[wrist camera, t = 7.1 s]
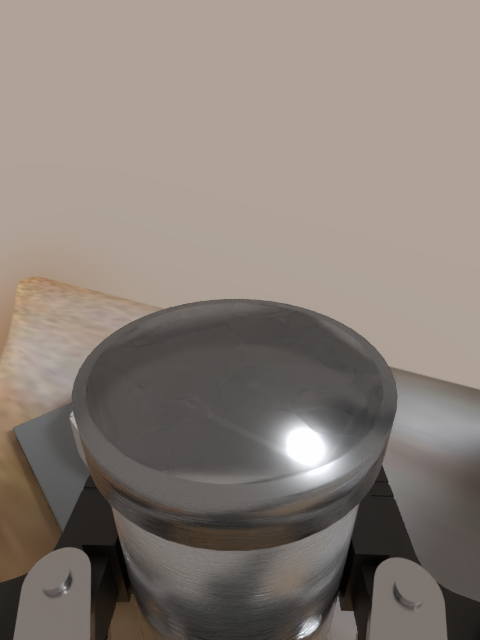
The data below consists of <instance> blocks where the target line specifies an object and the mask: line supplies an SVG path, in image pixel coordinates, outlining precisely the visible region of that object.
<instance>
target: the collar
mask: <svg viewBox="0 0 480 640" xmlns="http://www.w3.org/2000/svg"><path fill="white" fill-rule="evenodd" d="M13 430H14V432H15V435H16V438H17V440H18V442H19V444H20V446H21V449H22V451H23V453H24V455H25V457H26V459H27V461H28V463H29V465H30V467H31V469H32V471H33V473H34V475H35V477H36V480H37V482H38V484H39V486H40V488H41V490H42V492H43V494H44V496H45V498H46V500H47V502H48V504H49V506H50V509H51V511H52V513H53V515H54V517H55V519H56V521H57V523H58V525H59V527H60V529H61V531H62V533H63V531H64V528H65V526H66V524H67V522H68V520H69V518H70V515H71V513H72V511H73V509H74V507H75V504H76V502H77V500H78V498H79V496H80V493H81V491H82V490H83V489H84V485H85V483H86V480H87V478H88V476H90V473H89V469H88V465H87V462H86V458H85V454H84V451H83V447H82V443H81V440H80V436H79V432H78V429H77V425H76V421H75V417H74V414H73V410H72V403H70V404H68V405H66V406H63V407H61V408H59V409H56V410H54V411H52V412H49V413H47V414H44V415H42V416H40V417H37V418H35V419H33V420H30V421H28V422H26V423H23V424H21V425H19V426H16V427H14V428H13Z"/></svg>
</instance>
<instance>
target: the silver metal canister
mask: <svg viewBox="0 0 480 640" xmlns="http://www.w3.org/2000/svg"><path fill="white" fill-rule="evenodd" d="M396 409H397V390H396V384H395V380H394V377H393V375H392V372H391V370H390V368H389V366H388V365H387V363H386V361H385V360H384V358H383V357H382V356H381V354H380V353H379V352H378V351H377V350H376V348H375V347H374V346H372V345H371V344H370V343H369V342H368V341H367V340H366V339H365V338H364V337H362V336H361V335H359V334H358V333H357V332H355V331H354V330H352V329H351V328H349V327H347V326H345V325H344V324H342V323H340V322H338V321H336V320H334V319H332V318H330V317H327V316H325V315H322V314H320V313H316V312H314V311H311V310H308V309H304V308H301V307H297V306H293V305H289V304H283V303H278V302H271V301H263V300H249V299H224V300H223V299H222V300H209V301H200V302H194V303H188V304H183V305H179V306H175V307H170V308H167V309H164V310H160V311H157V312H154V313H152V314H149V315H147V316H144V317H142V318H140V319H137V320H135V321H133V322H131V323H129V324H127V325H126V326H124V327H122V328H120V329H119V330H117V331H116V332H114V333H113V334H111V335H110V336H109V337H107V338H106V339H105V340H104V341H103V342H101V343H100V344H99V345H98V346H97V347H96V348H95V349H94V350H93V351H92V352H91V354H90V355H89V356H88V357H87V358H86V360H85V361H84V363H83V365H82V366H81V368H80V369H79V372H78V374H77V377H76V379H75V382H74V386H73V392H72V410H73V414H74V417H75V421H76V425H77V429H78V432H79V436H80V440H81V443H82V447H83V451H84V454H85V458H86V462H87V465H88V469H89V473H90V475H91V477H92V479H93V481H94V483H95V485H96V487H97V489H98V490H99V491H100V492H101V494H102V495H103V496H104V498H105V499H106V500H107V501H108V503H109V504H110V505H111V507H112V511H113V515H114V519H115V523H116V527H117V531H118V535H119V540H120V544H121V548H122V552H123V556H124V560H125V564H126V568H127V572H128V576H129V580H130V584H131V588H132V592H133V596H134V600H135V604H136V609H137V613H138V617H139V621H140V625H141V629H142V633H143V637H144V640H327V639H328V635H329V631H330V626H331V622H332V618H333V614H334V609H335V605H336V601H337V597H338V592H339V588H340V584H341V580H342V576H343V571H344V567H345V563H346V559H347V554H348V550H349V546H350V542H351V537H352V533H353V529H354V525H355V520H356V516H357V512H358V508H359V503H360V502H361V501H362V499H363V498H364V497H365V496H366V494H367V493H368V492H369V491H370V489H371V488H372V486H373V484H374V482H375V480H376V478H377V476H378V475H379V473H380V469H381V466H382V463H383V459H384V456H385V452H386V448H387V444H388V440H389V436H390V433H391V429H392V425H393V421H394V417H395V413H396Z"/></svg>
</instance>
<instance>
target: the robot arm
mask: <svg viewBox="0 0 480 640" xmlns="http://www.w3.org/2000/svg"><path fill="white" fill-rule="evenodd" d="M131 593H132V588H131V584H130V580H129V576H128V572H127V568H126V564H125V560H124V556H123V552H122V548H121V544H120V540H119V535H118V531H117V527H116V523H115V519H114V515H113V511H112V507H111V505H110V504H109V503H108V501H107V500H106V499H105V498H104V496H103V495H102V494H101V492H100V491H99V490H98V489H97V487H96V485H95V483H94V481H93V479H92V477H91V475H90V476H88V478H87V480H86V483H85V485H84V489H83V490H82V491H81V493H80V496H79V498H78V500H77V502H76V504H75V507H74V509H73V511H72V513H71V515H70V518H69V520H68V522H67V524H66V526H65V528H64V531H63V533H62V535H61V537H60V539H59V542H58V543H57V545H56V547H55V549H54V550H53V552H51V553H49V554H47V555H46V556H44V557H43V558H42V559H40V560H39V561H38V562H37V563H36V564H35V565H34V566H33V567H32V569H31V570H30V571H29V573H27V574H25V575H23V576H20V577H17V578H15V579H11V580H8V581H5V582H1V583H0V640H111V627H110V623H111V619H112V616H113V612H114V609H115V605H116V602H129V601H130V597H131ZM338 596H339V601H340V607H341V611H354V616H355V620H356V625H357V634H356V639H355V640H480V602H477V601H475V600H472V599H469V598H467V597H464V596H461V595H459V594H456V593H454V592H452V591H450V590H448V589H446V588H444V587H443V586H441V585H440V584H439V583H437V582H436V581H435V579H434V578H433V577H432V576H431V575H430V574H429V573H428V572H427V571H426V570H425V569H424V568H423V567H422V566H421V564H420V562H419V561H418V559H417V556H416V554H415V552H414V549H413V546H412V544H411V541H410V538H409V536H408V533H407V530H406V528H405V525H404V522H403V520H402V517H401V514H400V512H399V509H398V506H397V504H396V501H395V499H394V496H393V493H392V490H391V487H390V485H389V484H388V479H387V477H386V474H385V471H384V469H383V466H381V469H380V473H379V475H378V476H377V478H376V480H375V482H374V484H373V486H372V488H371V489H370V491H369V492H368V493H367V494H366V496H365V497H364V498H363V499H362V501H361V502H360V503H359V508H358V512H357V516H356V520H355V525H354V529H353V533H352V537H351V542H350V546H349V550H348V554H347V559H346V563H345V567H344V571H343V576H342V580H341V584H340V588H339V592H338Z"/></svg>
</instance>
